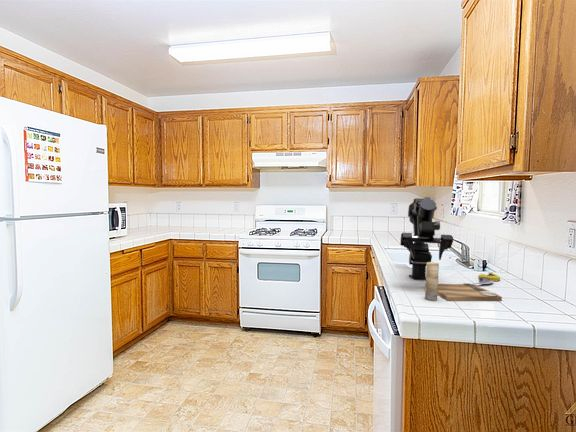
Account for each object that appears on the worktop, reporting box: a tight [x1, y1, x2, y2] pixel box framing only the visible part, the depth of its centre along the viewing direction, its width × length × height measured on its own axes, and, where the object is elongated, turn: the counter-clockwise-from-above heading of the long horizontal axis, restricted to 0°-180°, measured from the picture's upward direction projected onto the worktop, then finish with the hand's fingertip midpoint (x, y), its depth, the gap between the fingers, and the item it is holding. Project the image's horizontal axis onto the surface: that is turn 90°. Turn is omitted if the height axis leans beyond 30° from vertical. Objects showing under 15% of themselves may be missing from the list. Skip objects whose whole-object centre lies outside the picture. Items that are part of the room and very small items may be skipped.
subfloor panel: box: [424, 283, 503, 302], centre depth 129 cm, size 17×20×2 cm
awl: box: [424, 261, 440, 302], centre depth 122 cm, size 4×4×13 cm
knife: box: [472, 272, 501, 285], centre depth 149 cm, size 8×3×25 cm
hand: (426, 258), depth 129 cm, fingers open, 9 cm apart
